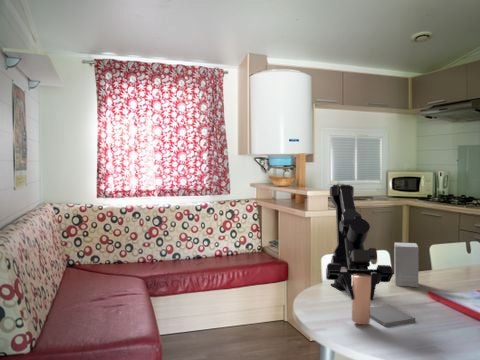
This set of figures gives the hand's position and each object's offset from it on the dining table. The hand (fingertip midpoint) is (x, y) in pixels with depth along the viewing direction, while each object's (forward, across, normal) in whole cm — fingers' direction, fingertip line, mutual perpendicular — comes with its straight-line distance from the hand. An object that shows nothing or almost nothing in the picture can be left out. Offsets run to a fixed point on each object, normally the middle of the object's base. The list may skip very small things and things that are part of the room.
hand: (362, 299), depth 105 cm
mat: (0, +9, +11) cm, 14 cm away
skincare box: (-22, +24, +34) cm, 48 cm away
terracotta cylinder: (+4, 0, +6) cm, 7 cm away
